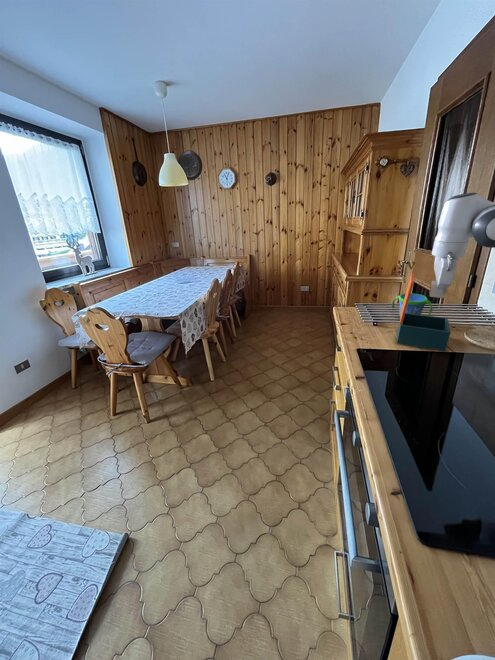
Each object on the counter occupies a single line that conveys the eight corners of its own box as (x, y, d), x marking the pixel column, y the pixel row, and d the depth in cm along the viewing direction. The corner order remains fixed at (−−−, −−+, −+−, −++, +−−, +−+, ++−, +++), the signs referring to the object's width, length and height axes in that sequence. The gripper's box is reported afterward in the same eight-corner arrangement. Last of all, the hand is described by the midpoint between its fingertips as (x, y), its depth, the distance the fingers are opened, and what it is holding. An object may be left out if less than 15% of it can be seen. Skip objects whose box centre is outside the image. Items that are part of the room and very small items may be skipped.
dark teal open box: (442, 335, 110) (447, 318, 107) (445, 351, 100) (450, 332, 97) (398, 329, 117) (401, 312, 113) (396, 343, 107) (400, 325, 104)
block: (443, 293, 98) (447, 281, 96) (444, 298, 95) (448, 285, 93) (429, 292, 100) (431, 280, 98) (429, 296, 96) (432, 284, 94)
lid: (414, 272, 105) (411, 271, 105) (414, 282, 95) (411, 281, 96) (403, 311, 113) (400, 311, 113) (402, 324, 103) (399, 324, 104)
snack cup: (385, 317, 128) (389, 296, 123) (396, 310, 133) (400, 290, 129) (422, 328, 117) (428, 305, 112) (432, 320, 122) (438, 298, 118)
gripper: (465, 257, 81) (452, 302, 87) (456, 243, 97) (446, 282, 103) (439, 256, 83) (428, 300, 90) (435, 243, 99) (426, 281, 106)
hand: (438, 290), depth 96 cm, fingers closed on block, 4 cm apart
